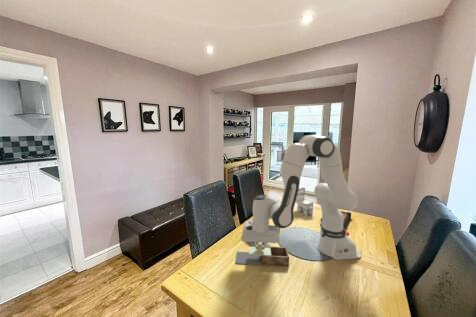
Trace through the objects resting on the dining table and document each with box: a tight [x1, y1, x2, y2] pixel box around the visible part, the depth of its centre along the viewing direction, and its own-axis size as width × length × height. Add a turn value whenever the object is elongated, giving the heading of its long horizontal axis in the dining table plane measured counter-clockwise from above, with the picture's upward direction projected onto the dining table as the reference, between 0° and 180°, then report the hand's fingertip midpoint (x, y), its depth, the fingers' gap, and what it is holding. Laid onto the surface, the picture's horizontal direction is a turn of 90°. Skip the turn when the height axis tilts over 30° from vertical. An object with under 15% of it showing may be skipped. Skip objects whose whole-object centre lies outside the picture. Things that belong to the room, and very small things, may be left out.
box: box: [260, 245, 290, 267], centre depth 107 cm, size 14×9×5 cm, turn 85°
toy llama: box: [295, 187, 314, 217], centre depth 168 cm, size 8×18×20 cm, turn 25°
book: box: [319, 210, 352, 231], centre depth 153 cm, size 26×18×5 cm
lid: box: [248, 242, 271, 257], centre depth 107 cm, size 12×7×5 cm, turn 85°
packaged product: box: [247, 242, 271, 247], centre depth 125 cm, size 18×5×10 cm
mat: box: [235, 251, 261, 266], centre depth 109 cm, size 13×10×1 cm
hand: (260, 248), depth 107 cm, fingers closed on lid
